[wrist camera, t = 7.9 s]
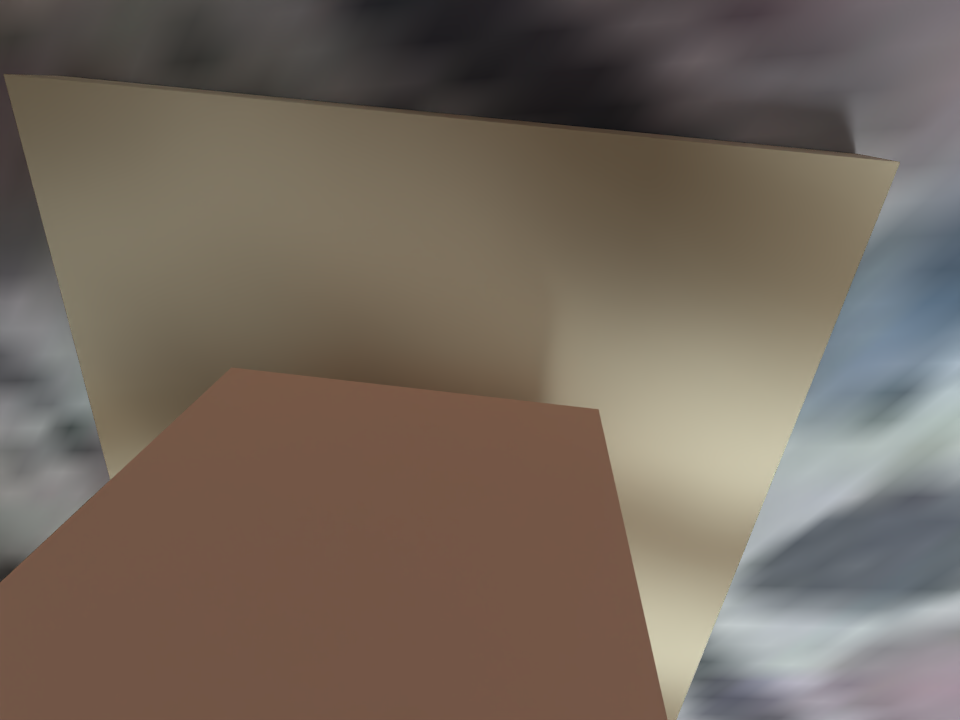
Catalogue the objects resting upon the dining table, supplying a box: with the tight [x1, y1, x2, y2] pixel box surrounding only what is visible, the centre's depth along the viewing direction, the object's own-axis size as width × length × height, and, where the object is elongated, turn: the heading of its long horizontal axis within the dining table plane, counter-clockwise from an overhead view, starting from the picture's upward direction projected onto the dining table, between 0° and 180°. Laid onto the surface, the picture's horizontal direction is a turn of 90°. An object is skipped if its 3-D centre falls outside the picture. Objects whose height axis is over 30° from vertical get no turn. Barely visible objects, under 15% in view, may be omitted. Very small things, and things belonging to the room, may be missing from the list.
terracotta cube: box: [0, 367, 668, 720], centre depth 8 cm, size 6×6×6 cm
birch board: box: [3, 74, 900, 720], centre depth 12 cm, size 14×14×1 cm
